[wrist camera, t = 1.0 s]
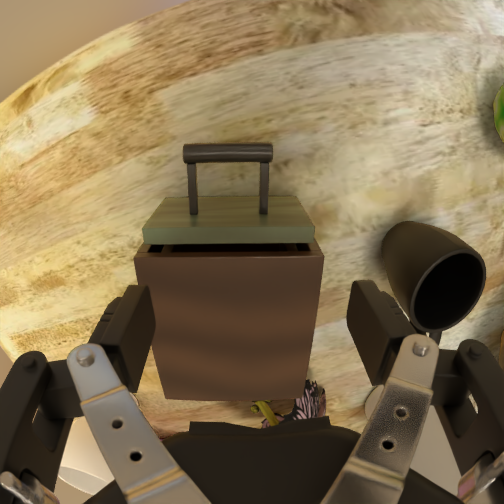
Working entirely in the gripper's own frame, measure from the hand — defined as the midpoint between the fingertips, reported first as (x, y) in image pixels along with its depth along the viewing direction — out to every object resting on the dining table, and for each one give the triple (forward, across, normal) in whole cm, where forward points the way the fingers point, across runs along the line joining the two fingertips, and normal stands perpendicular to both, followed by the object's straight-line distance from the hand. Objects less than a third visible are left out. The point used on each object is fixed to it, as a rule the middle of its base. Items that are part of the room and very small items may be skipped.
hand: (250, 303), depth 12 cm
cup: (+17, +20, +29) cm, 39 cm away
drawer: (+16, +1, +4) cm, 17 cm away
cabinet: (+17, +1, +9) cm, 20 cm away
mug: (+17, -17, +8) cm, 25 cm away
